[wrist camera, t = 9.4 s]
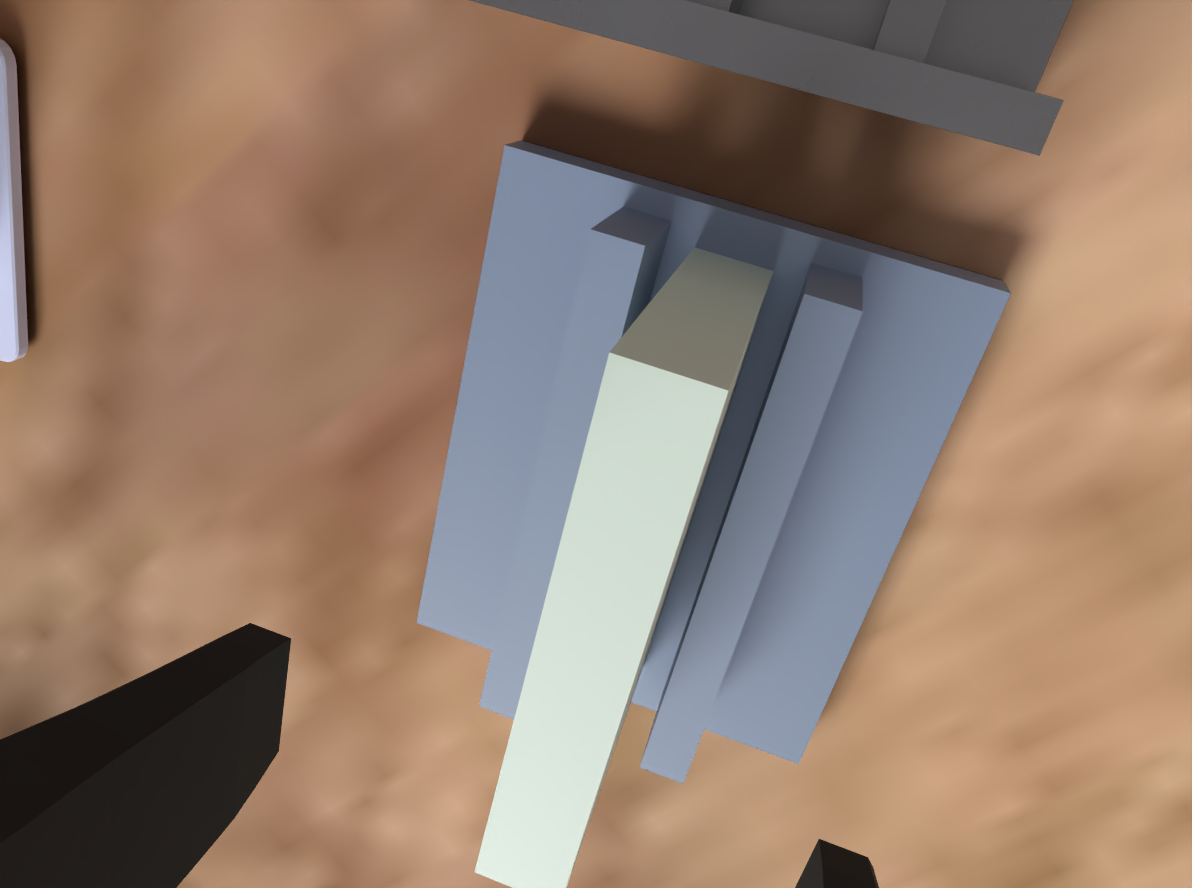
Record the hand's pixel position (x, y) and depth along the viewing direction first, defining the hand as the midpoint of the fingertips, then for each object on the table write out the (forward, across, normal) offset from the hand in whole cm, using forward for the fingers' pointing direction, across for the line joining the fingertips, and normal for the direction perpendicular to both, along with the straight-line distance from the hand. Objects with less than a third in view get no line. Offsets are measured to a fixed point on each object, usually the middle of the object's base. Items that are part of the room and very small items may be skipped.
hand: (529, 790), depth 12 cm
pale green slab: (+9, 0, 0) cm, 9 cm away
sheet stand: (+10, 0, 0) cm, 10 cm away
